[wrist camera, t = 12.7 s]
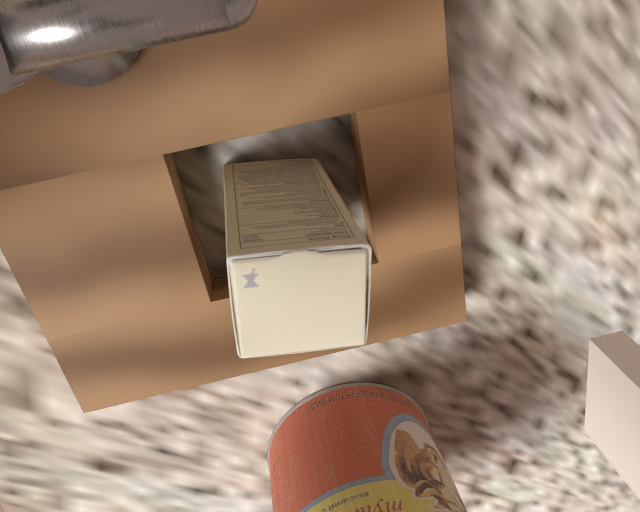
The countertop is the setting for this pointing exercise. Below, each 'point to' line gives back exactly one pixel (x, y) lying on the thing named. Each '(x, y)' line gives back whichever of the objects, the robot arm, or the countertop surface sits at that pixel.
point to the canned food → (358, 455)
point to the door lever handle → (100, 35)
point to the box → (293, 260)
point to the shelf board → (170, 201)
